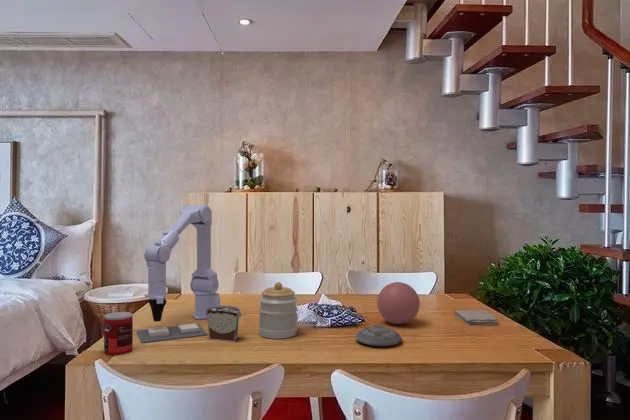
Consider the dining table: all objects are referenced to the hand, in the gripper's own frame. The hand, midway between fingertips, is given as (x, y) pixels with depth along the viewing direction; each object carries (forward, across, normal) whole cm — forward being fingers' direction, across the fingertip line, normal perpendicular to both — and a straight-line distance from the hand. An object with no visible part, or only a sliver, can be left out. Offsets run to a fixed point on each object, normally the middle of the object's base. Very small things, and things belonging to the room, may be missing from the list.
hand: (157, 321), depth 159 cm
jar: (+5, +17, +37) cm, 41 cm away
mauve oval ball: (+5, +21, +83) cm, 86 cm away
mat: (+4, +1, +4) cm, 6 cm away
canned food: (+5, +14, -13) cm, 20 cm away
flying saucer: (+5, +39, +63) cm, 74 cm away
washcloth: (+5, +31, +113) cm, 117 cm away
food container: (+5, +14, +20) cm, 25 cm away
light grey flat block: (+3, -1, +10) cm, 11 cm away
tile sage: (+3, -1, 0) cm, 3 cm away
